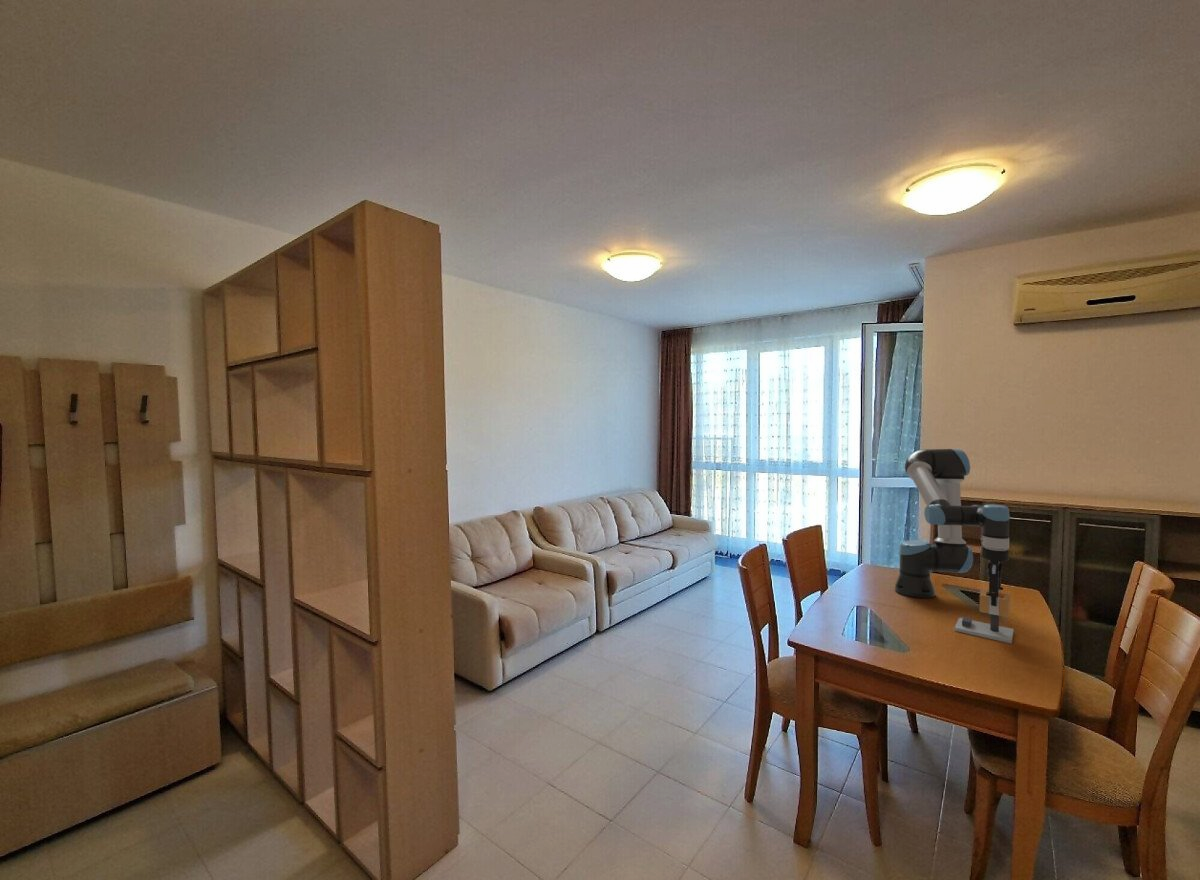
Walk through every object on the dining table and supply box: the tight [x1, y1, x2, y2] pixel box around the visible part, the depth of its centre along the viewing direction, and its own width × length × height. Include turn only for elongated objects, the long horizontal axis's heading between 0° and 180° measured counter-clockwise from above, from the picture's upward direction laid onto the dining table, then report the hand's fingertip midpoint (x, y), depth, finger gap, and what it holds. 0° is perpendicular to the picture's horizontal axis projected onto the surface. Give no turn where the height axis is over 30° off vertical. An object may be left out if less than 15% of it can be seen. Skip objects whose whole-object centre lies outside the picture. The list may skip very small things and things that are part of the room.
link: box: [979, 589, 1011, 618], centre depth 176 cm, size 8×8×6 cm
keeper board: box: [954, 614, 1014, 645], centre depth 178 cm, size 12×16×8 cm
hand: (994, 610), depth 176 cm, fingers closed on link, 8 cm apart
